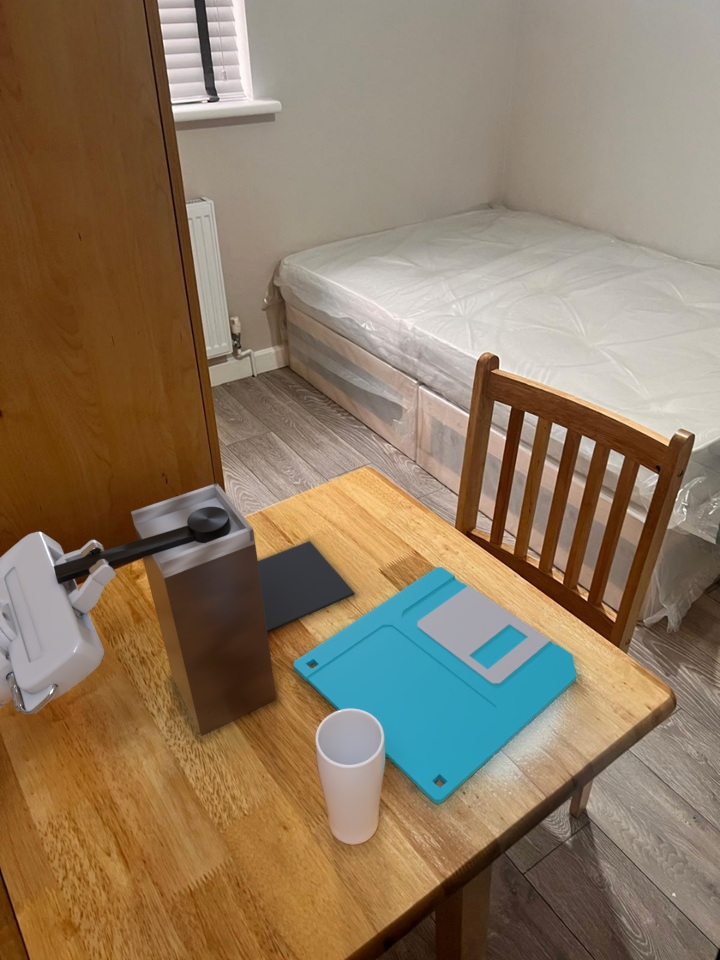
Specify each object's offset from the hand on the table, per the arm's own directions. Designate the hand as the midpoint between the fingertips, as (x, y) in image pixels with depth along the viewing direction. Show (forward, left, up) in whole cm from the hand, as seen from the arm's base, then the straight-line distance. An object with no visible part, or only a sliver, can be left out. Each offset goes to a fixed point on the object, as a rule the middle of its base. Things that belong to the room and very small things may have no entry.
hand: (105, 555), depth 74 cm
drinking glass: (+14, -24, -27) cm, 39 cm away
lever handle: (+3, 0, -1) cm, 3 cm away
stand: (+9, 0, -27) cm, 28 cm away
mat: (+20, +13, -27) cm, 36 cm away
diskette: (+34, -12, -27) cm, 45 cm away
